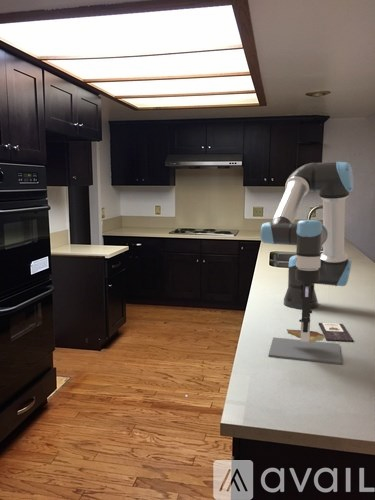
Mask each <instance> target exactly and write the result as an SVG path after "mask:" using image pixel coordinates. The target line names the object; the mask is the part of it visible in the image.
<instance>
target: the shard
mask: <svg viewBox="0 0 375 500" xmlns="http://www.w3.org/2000/svg"><path fill="white" fill-rule="evenodd" d="M286 331H287V334H288V335H291V336H294V337H296V338H297V339H301V329H300V330H299V329H286ZM324 339H325V335H324V334H323V333H320V332H319V331H313V330H310V338H309V342H310V343H313V342H315V341H316V342H322V341H323V340H324Z"/></svg>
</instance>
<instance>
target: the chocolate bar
mask: <svg viewBox="0 0 375 500" xmlns="http://www.w3.org/2000/svg"><path fill="white" fill-rule="evenodd" d="M318 326H319V328H320V330H321V332H322V334H323V335H325V337H324V339H325V340H326V341H327V342H341V343H342V342H346V343H354V339H353V337H352V336H351V335H350V333H349V332H348V330H347V329H346V327H345V326H344V324H343V323H331V322H330V323H329V322H318Z"/></svg>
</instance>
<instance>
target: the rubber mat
mask: <svg viewBox="0 0 375 500" xmlns="http://www.w3.org/2000/svg"><path fill="white" fill-rule="evenodd" d="M268 357H269V358H270V357H272V358H279V359H281V358H282V359H287V360H289V359H290V360H299V361H307V362H317V363H325V364H334V365H342V364H343V360H342V356H341V349H340V343H336V342H335V343H334V342H325V341H315V342H313V343H310V342H304V341H301V339H294V338H285V337H272V340H271V344H270V348H269V350H268Z"/></svg>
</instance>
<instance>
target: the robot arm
mask: <svg viewBox="0 0 375 500" xmlns="http://www.w3.org/2000/svg"><path fill="white" fill-rule="evenodd" d="M284 187H285V191H284V193H283V195H282V198H281V200H280V202H279V204H278V206H277V208H276V211H275V213H274V216H273V218H272V220H271V222H270V221H267V222H264V223H262V224H261V228H260V240H261V241H262V243H264V244H270V245H280V246H281V245H284V246H285V245H286V246H287V245H288V246H296V253H295V255H292V256H290V258H289V260H288V273H287V274H288V275H287V277H288V279H287V280H288V282H287V289H286V292H285V294H284V298H283V305H284V306H286V307H289V308H293V309H301V319H299V320H298V322H299V323H300V330H301V338H300V340H301V341H304V342H309V338H310V331H311V314H313V310H311V309H315V308H317V307H318V306H319V305H318V304H319V300H318V297H317V294H316V290H315V285H325V286H333V287H334V286H335V287H344V286H347V284H348V283H349V279H350V274H351V268H352V260H351V259H349V255H348V254H347V253H346V252H345V230H346V229H345V228H346V227H345V223H346V222H345V221H346V217H345V216H346V199H347V198H348V197H350V193H351V192H354V191H353V190H354V173H353V168H352V166H351V164H350V163H349V162H346V161H329V162H310V163H306V164H304V165H301V166H300V167H298V168H296V169H295V170H294V171H293V172H292V173H291V174H290V175H289V176H288V177H287V179H286V182H285V186H284ZM310 192H314V193H315V192H316V193H317V192H318V197H319V198H320V199H321V200H322V221H321V220H318V219H300V220H298V221H297V223H294V222H295V220H296V217H297V215H298V213H299V210H300V206H301V205H302V202H303V199H304V197H305V196H307V194H308V193H310ZM321 251H323V252H321Z"/></svg>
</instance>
